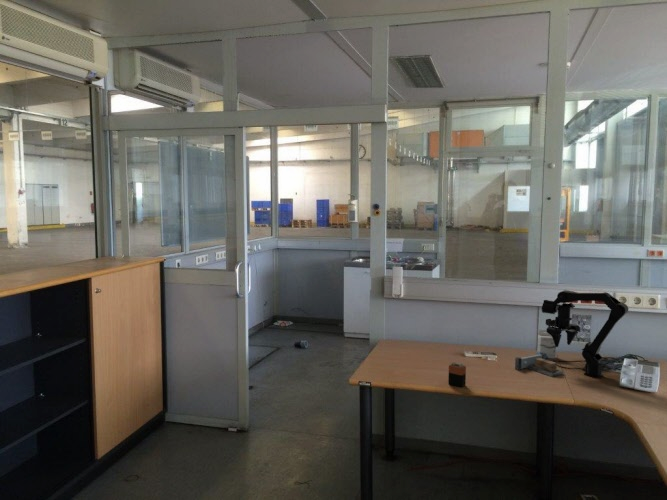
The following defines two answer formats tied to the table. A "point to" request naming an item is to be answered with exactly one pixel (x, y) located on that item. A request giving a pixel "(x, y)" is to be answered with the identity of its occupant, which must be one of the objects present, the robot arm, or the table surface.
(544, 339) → the ink box
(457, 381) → the battery
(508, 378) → the table surface
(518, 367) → the door frame
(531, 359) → the door
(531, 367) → the keeper cradle
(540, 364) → the bar
